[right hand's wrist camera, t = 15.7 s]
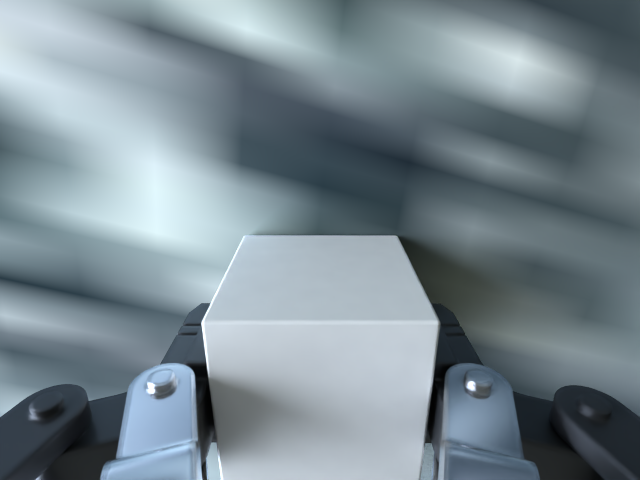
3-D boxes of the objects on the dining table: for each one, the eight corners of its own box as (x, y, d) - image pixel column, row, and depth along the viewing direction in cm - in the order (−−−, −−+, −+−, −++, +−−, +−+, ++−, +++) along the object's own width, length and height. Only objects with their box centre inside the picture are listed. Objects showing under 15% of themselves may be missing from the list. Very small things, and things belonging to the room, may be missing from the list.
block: (253, 368, 14) (222, 500, 9) (243, 234, 12) (200, 321, 8) (387, 369, 14) (418, 501, 9) (397, 234, 12) (442, 322, 7)
